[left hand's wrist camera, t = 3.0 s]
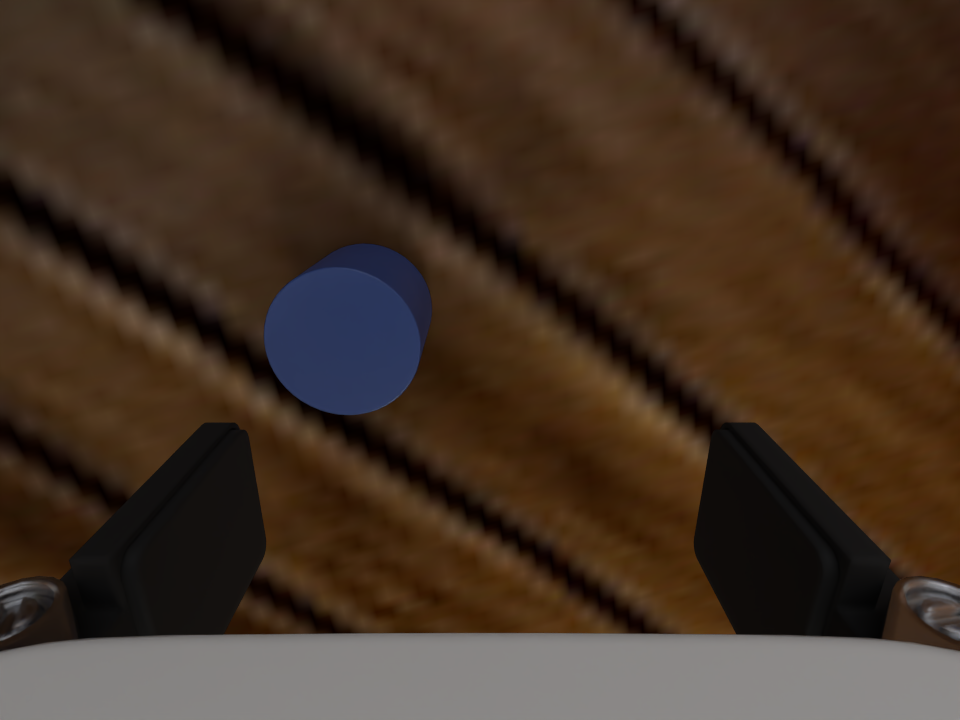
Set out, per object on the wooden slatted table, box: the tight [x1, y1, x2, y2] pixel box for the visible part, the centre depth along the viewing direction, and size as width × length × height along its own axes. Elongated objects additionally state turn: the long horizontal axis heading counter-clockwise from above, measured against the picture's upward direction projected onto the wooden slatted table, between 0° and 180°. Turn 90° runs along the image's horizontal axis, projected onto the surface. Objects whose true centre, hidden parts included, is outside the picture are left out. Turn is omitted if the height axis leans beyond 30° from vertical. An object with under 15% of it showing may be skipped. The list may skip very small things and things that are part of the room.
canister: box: [264, 244, 432, 415], centre depth 18 cm, size 4×4×4 cm
